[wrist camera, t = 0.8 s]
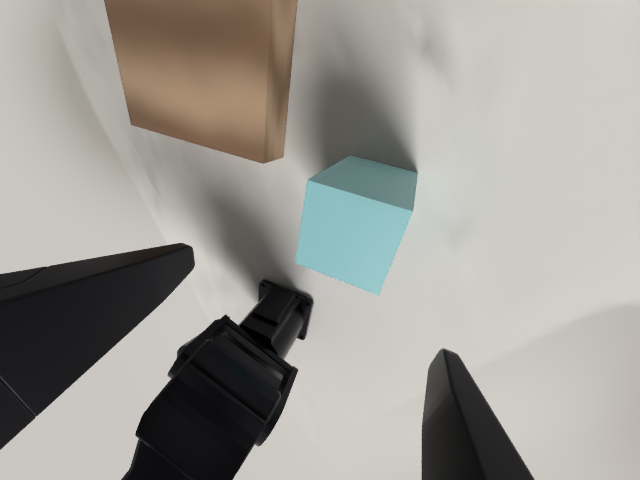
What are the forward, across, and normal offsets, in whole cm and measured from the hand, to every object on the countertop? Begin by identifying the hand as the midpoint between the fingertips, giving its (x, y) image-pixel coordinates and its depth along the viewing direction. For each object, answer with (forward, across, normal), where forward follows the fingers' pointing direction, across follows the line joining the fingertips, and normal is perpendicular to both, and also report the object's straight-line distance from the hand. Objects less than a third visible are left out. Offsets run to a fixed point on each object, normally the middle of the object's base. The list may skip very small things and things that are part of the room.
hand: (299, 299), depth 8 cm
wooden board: (+13, +14, -8) cm, 21 cm away
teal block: (+13, 0, 0) cm, 13 cm away
